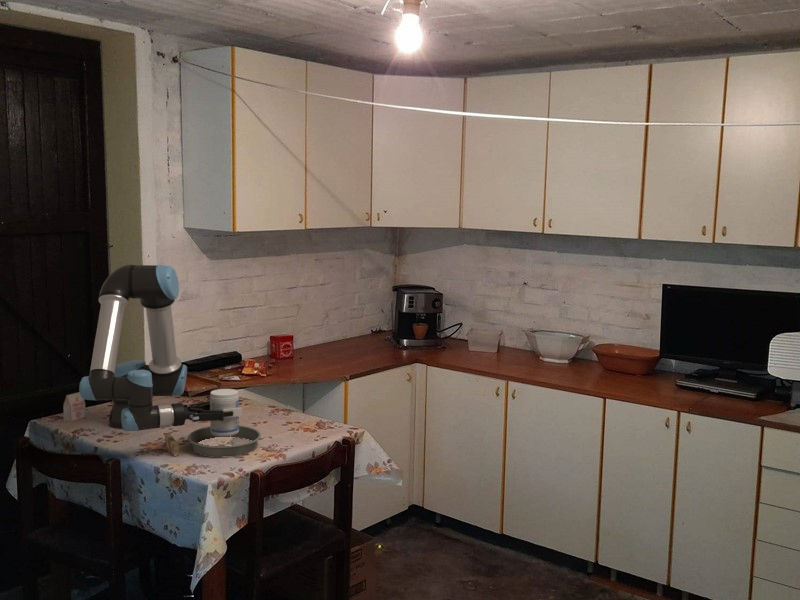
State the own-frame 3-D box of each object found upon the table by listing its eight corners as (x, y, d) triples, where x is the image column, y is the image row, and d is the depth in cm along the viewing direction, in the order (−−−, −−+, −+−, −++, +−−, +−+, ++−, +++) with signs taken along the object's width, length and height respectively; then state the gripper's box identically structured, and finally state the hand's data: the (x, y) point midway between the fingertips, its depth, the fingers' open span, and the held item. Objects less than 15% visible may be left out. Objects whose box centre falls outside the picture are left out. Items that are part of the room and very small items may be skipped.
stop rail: (179, 456, 256) (178, 444, 255) (174, 456, 255) (174, 445, 255) (169, 443, 268) (169, 432, 267) (165, 444, 267) (164, 433, 267)
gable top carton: (63, 420, 291) (63, 394, 290) (78, 416, 297) (78, 391, 296) (70, 422, 289) (69, 396, 288) (85, 418, 295) (84, 392, 294)
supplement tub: (243, 435, 264) (243, 393, 262) (216, 439, 259) (216, 396, 257) (232, 427, 272) (232, 387, 270) (206, 431, 267) (206, 390, 265)
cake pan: (227, 464, 250) (227, 451, 249) (172, 450, 262) (172, 437, 261) (275, 444, 271) (275, 431, 271) (222, 432, 283) (222, 420, 282)
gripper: (163, 417, 266) (227, 410, 277) (179, 435, 247) (247, 427, 257) (163, 396, 265) (227, 390, 276) (179, 412, 246) (247, 405, 256)
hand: (237, 408), depth 267 cm, fingers closed on supplement tub, 9 cm apart
